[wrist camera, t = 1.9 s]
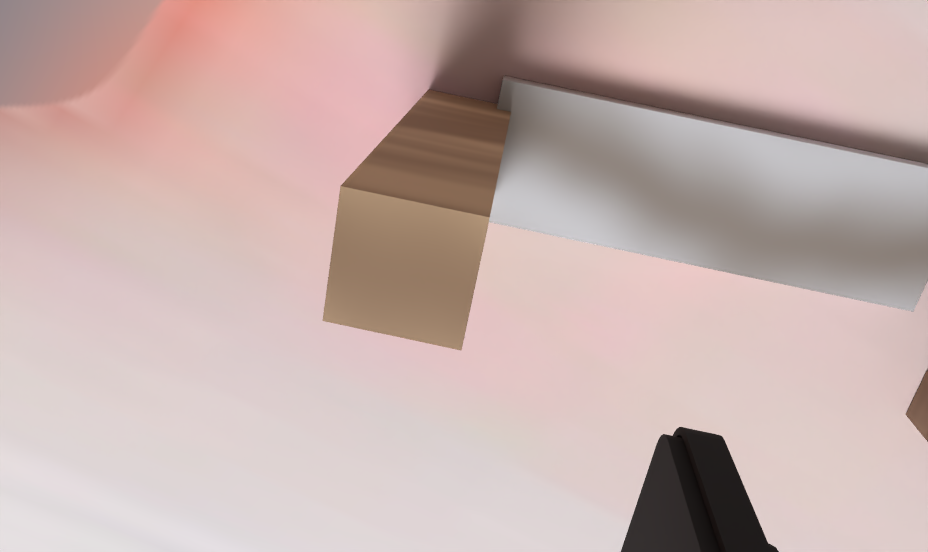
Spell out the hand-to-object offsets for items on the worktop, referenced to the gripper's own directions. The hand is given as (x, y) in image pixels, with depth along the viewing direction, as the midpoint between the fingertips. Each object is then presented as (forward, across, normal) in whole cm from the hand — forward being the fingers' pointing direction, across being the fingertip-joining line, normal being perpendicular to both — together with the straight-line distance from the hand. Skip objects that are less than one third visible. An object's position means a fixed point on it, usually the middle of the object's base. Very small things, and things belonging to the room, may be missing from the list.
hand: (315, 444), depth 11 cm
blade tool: (+19, -8, -1) cm, 20 cm away
